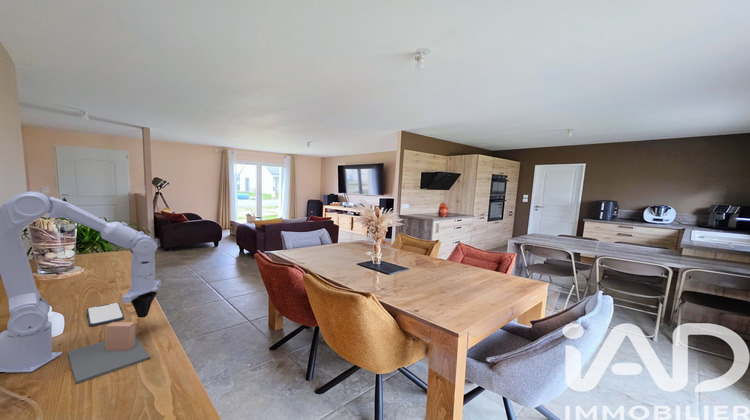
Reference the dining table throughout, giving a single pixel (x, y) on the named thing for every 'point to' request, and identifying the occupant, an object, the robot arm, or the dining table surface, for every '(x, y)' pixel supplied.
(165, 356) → the dining table surface
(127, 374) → the dining table surface
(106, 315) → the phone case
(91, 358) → the mat
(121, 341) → the tile
